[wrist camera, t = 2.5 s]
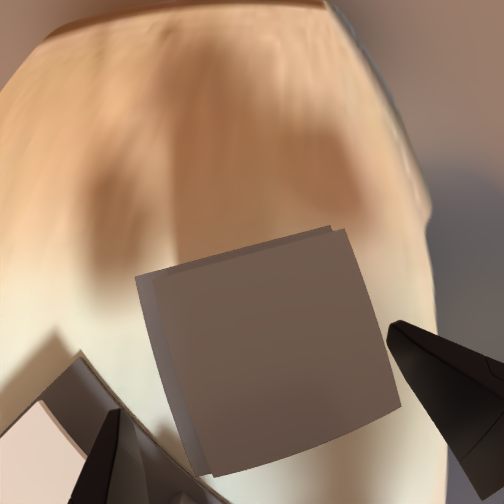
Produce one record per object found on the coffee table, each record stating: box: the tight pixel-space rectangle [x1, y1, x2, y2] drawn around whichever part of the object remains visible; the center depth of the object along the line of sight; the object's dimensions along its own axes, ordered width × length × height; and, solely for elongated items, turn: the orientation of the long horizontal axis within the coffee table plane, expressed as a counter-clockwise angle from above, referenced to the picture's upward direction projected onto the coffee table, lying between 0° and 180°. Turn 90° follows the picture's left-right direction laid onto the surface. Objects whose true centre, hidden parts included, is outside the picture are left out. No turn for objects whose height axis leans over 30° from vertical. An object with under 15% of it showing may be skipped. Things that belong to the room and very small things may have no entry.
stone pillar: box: [135, 225, 401, 478], centre depth 11 cm, size 5×5×13 cm
